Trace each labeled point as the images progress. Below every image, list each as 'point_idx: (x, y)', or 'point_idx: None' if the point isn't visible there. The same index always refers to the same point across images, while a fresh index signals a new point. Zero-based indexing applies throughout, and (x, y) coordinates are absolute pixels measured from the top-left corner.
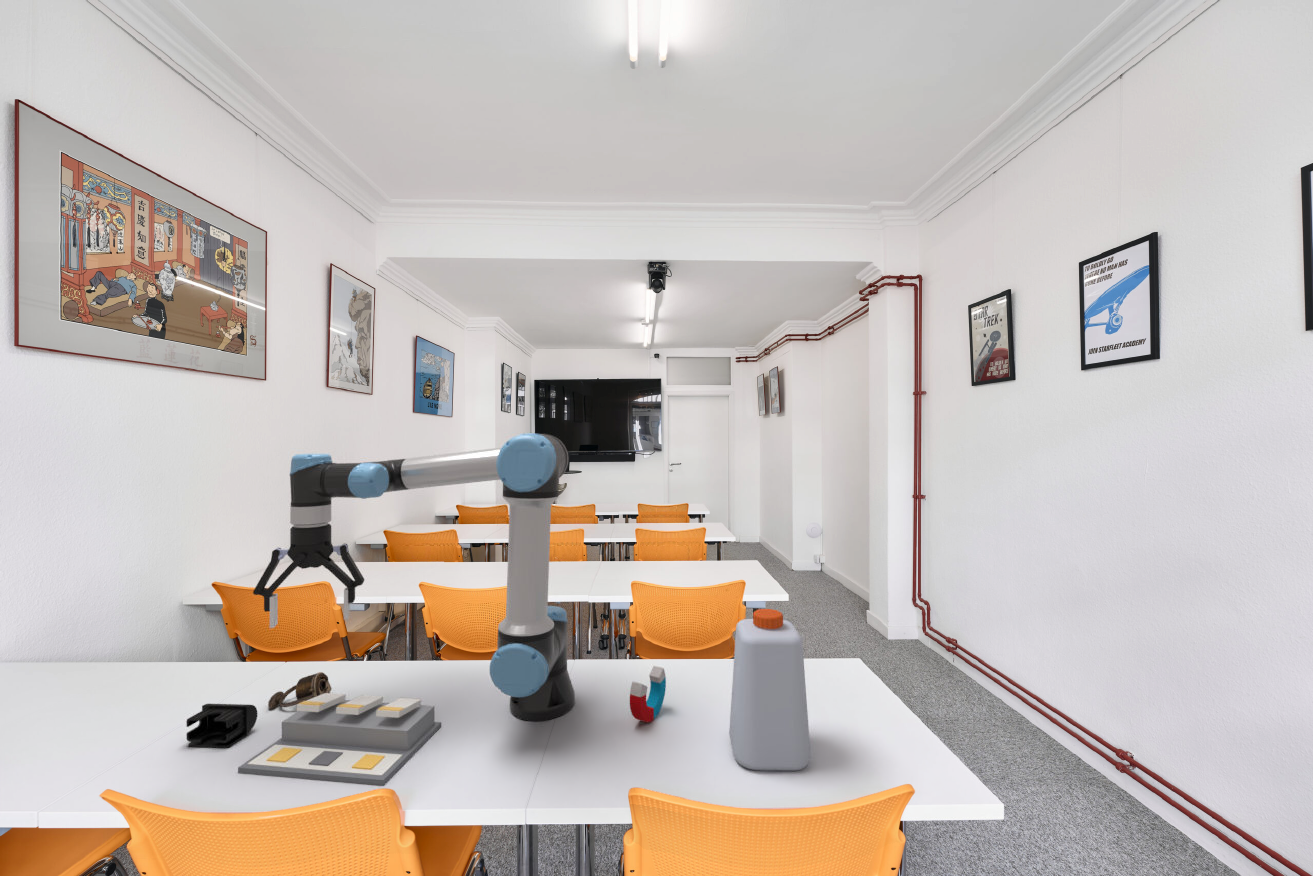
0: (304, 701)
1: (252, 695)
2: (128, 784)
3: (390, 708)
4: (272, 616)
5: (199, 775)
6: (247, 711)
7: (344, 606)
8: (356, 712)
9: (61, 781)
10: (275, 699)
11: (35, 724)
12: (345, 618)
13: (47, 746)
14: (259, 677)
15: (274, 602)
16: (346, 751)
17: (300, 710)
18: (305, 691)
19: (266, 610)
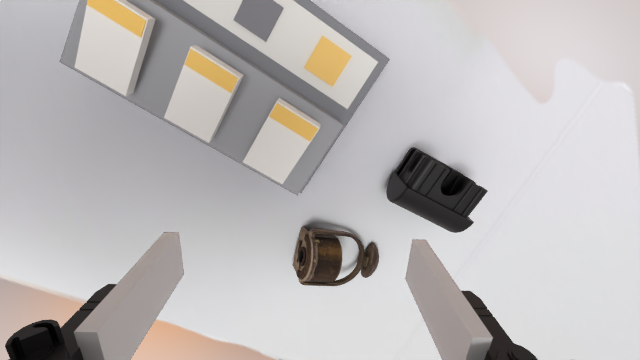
0: (309, 138)
1: (403, 299)
2: (519, 98)
3: (116, 10)
4: (433, 266)
5: (437, 79)
6: (403, 186)
7: (148, 266)
8: (197, 47)
9: (592, 147)
10: (370, 257)
11: (631, 313)
12: (170, 235)
13: (615, 250)
14: (402, 350)
15: (453, 316)
16: (228, 25)
17: (313, 119)
18: (326, 242)
19: (468, 294)
